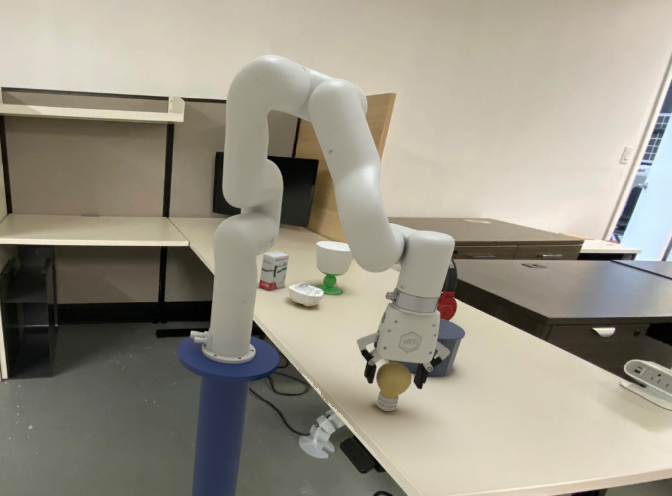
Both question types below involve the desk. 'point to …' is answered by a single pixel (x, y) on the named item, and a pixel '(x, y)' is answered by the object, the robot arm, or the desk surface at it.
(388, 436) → the desk surface
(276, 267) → the ink box
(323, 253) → the cup
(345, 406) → the desk surface
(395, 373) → the light bulb
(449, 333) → the pot lid
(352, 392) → the desk surface
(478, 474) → the desk surface
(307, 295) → the cell model
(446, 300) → the headphones
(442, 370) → the pot
